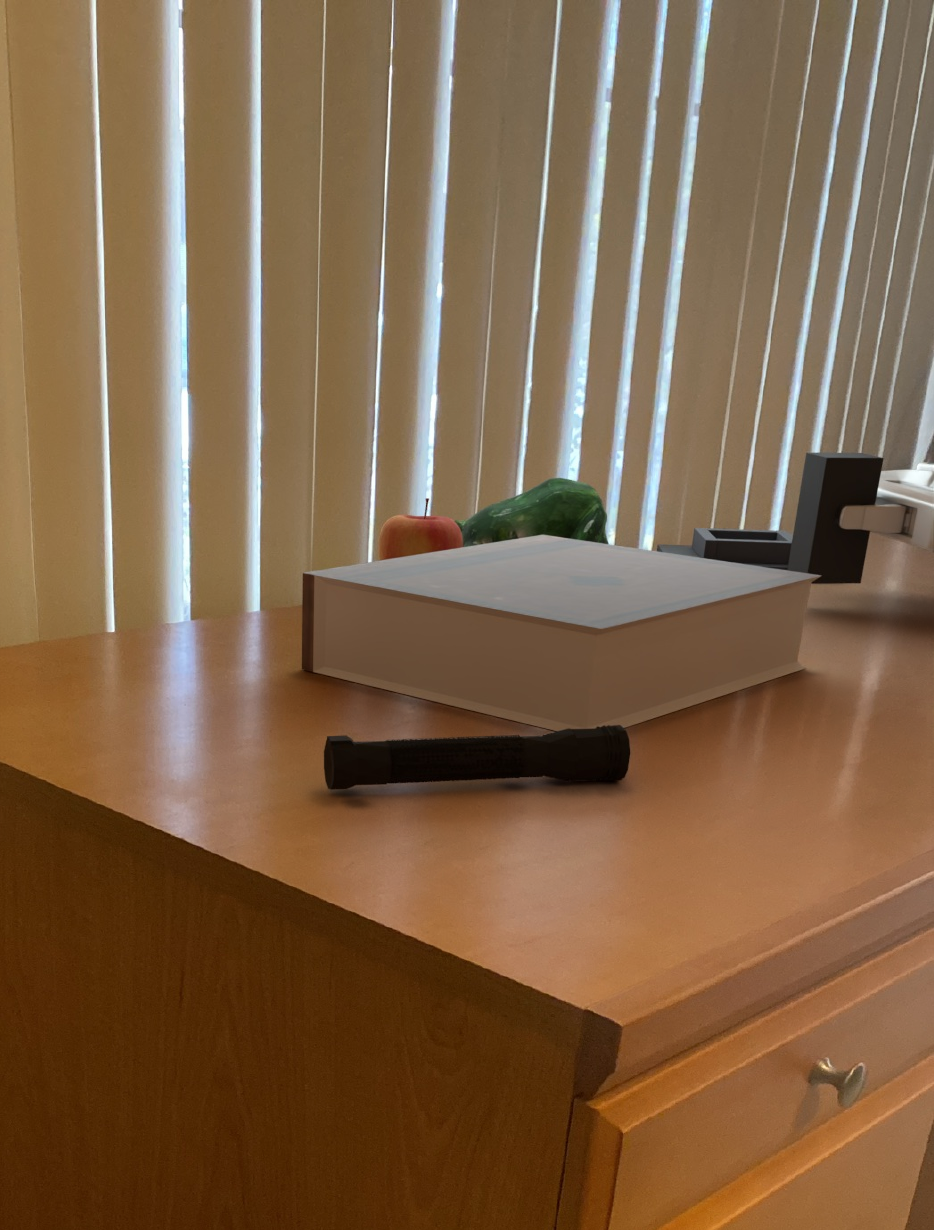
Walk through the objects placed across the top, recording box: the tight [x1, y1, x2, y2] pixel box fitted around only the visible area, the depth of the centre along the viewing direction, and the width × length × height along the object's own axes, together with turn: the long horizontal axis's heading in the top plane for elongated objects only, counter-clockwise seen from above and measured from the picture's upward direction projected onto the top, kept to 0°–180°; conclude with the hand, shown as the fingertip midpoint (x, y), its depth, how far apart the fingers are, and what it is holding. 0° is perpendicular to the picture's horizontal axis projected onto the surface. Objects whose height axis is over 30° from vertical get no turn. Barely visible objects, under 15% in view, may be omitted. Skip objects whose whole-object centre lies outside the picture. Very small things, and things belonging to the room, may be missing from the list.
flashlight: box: [323, 725, 632, 791], centre depth 79 cm, size 3×16×3 cm, turn 102°
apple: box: [377, 497, 463, 561], centre depth 126 cm, size 7×7×8 cm
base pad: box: [656, 527, 793, 570], centre depth 146 cm, size 16×12×3 cm
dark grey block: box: [787, 452, 884, 585], centre depth 123 cm, size 5×4×10 cm
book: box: [301, 535, 822, 732], centre depth 103 cm, size 24×28×6 cm
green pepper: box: [453, 477, 609, 547], centre depth 136 cm, size 14×9×15 cm
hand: (824, 512), depth 123 cm, fingers closed on dark grey block, 4 cm apart
